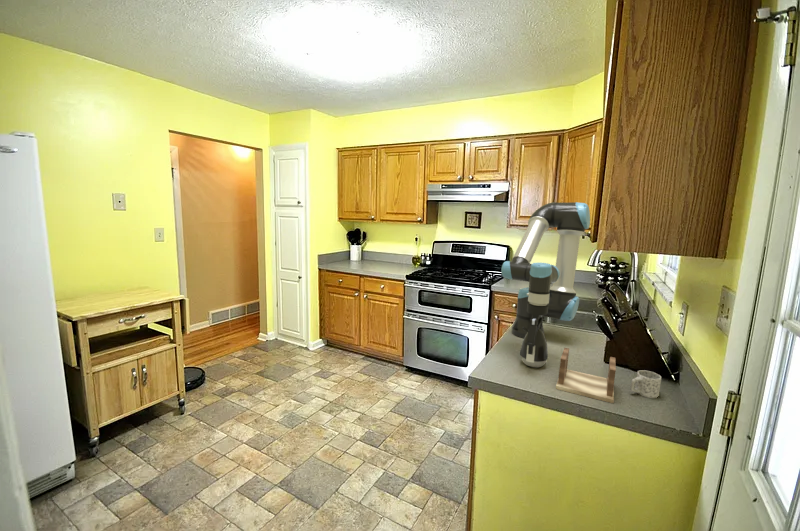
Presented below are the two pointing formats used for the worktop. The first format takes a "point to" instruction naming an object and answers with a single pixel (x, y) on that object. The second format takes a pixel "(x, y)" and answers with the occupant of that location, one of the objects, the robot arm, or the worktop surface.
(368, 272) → the worktop surface
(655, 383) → the mug
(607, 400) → the caddy
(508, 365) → the worktop surface
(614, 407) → the worktop surface
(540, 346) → the pump dispenser
